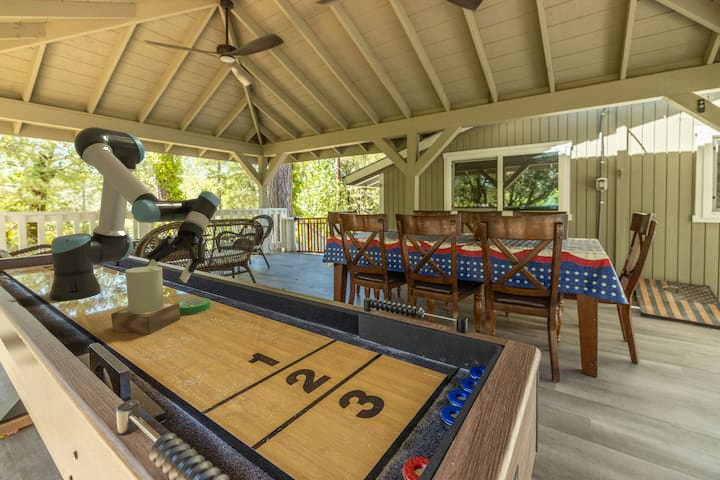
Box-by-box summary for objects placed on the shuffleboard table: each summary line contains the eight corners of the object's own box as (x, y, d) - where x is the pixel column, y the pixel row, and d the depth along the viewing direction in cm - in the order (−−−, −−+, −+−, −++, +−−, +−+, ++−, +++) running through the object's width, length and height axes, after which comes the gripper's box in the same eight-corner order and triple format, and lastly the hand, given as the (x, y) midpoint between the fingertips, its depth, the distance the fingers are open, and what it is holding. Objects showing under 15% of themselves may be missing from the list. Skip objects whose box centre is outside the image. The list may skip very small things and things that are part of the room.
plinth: (112, 331, 95) (111, 313, 94) (146, 316, 107) (145, 300, 106) (150, 334, 93) (148, 315, 92) (180, 319, 105) (179, 303, 104)
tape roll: (192, 316, 108) (191, 308, 108) (166, 312, 112) (165, 305, 112) (217, 306, 118) (217, 299, 118) (193, 303, 122) (193, 296, 122)
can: (147, 313, 94) (144, 271, 93) (119, 311, 96) (116, 269, 95) (172, 304, 103) (169, 265, 102) (146, 302, 105) (143, 264, 104)
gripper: (230, 235, 119) (205, 287, 106) (168, 233, 124) (136, 283, 111) (220, 221, 113) (193, 275, 100) (155, 219, 118) (121, 271, 105)
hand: (163, 279), depth 106 cm, fingers open, 13 cm apart
